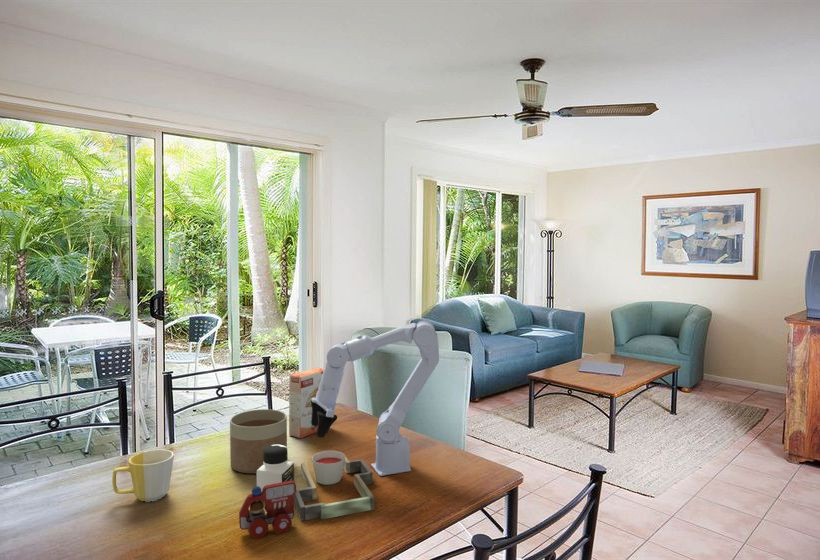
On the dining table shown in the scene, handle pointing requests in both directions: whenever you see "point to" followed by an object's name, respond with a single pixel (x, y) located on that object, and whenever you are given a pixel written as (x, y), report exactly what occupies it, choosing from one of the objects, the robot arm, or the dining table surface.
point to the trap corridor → (338, 507)
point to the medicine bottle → (275, 466)
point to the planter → (255, 437)
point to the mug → (148, 474)
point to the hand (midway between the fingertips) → (317, 430)
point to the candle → (328, 466)
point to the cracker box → (303, 401)
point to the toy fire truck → (268, 509)
